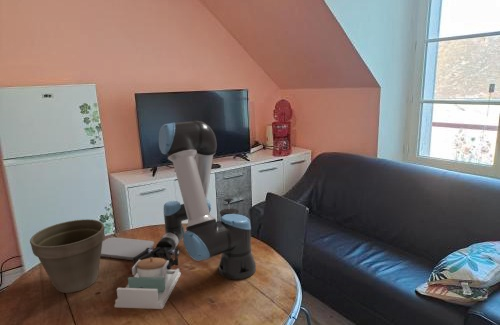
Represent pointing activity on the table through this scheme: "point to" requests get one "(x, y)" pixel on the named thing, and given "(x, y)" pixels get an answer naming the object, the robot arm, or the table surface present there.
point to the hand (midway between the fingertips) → (147, 272)
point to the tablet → (124, 247)
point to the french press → (228, 210)
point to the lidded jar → (150, 267)
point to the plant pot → (70, 253)
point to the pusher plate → (147, 283)
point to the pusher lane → (147, 294)
